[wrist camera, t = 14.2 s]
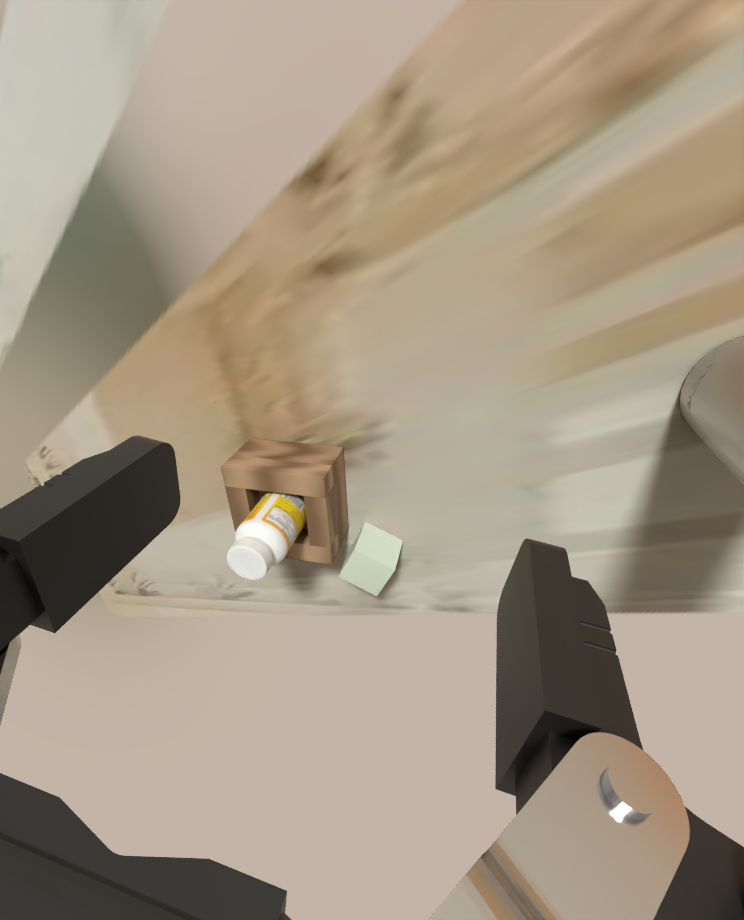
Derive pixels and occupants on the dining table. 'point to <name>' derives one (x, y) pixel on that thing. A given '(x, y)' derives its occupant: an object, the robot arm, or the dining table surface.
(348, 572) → the green cube
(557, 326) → the dining table surface
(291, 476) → the brown open box
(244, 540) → the supplement bottle
